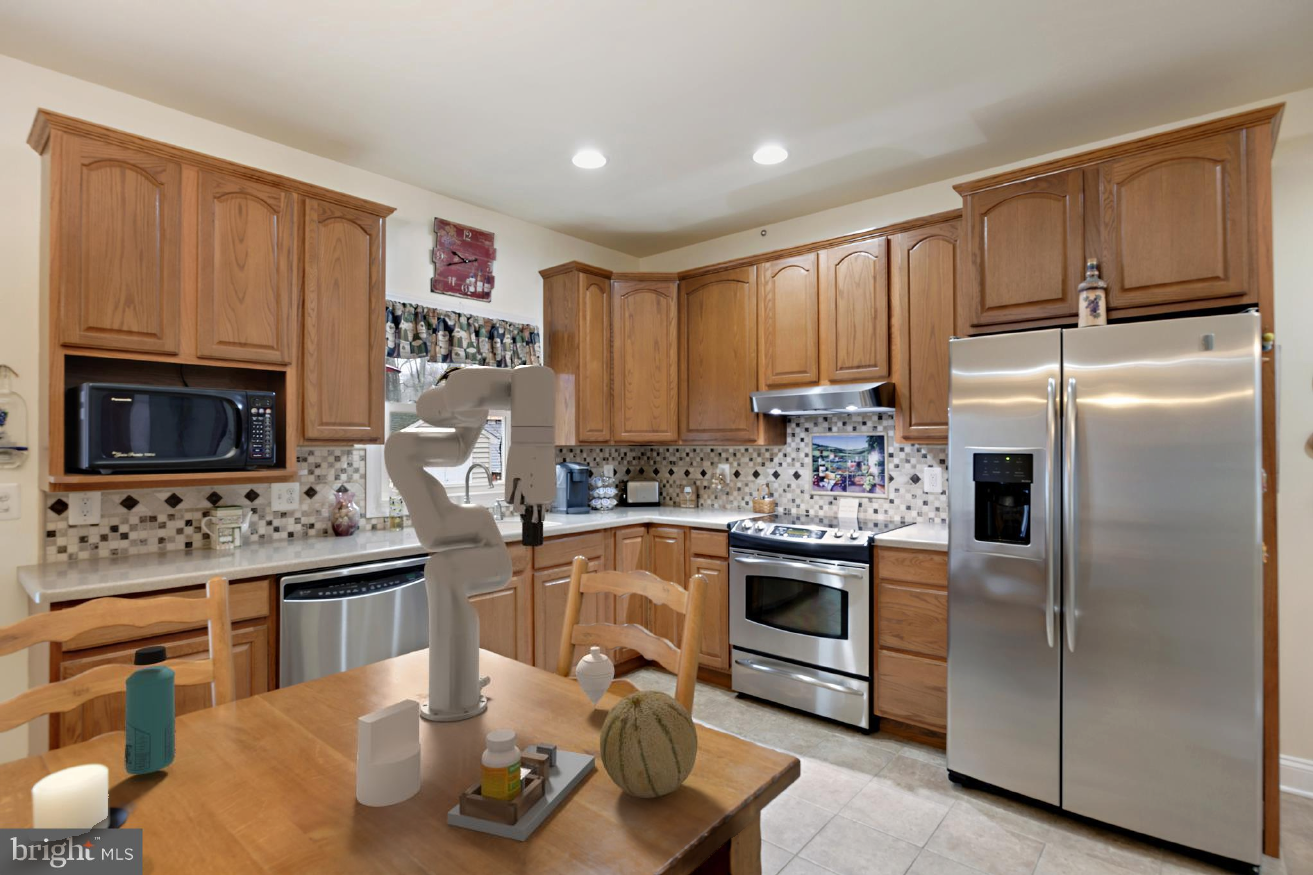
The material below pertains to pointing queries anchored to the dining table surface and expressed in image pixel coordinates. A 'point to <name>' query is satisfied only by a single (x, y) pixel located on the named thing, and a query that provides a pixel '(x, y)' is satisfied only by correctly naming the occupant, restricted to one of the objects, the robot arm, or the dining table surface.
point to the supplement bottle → (501, 766)
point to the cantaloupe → (648, 744)
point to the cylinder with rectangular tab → (389, 755)
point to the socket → (502, 802)
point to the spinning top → (595, 674)
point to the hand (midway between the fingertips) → (532, 545)
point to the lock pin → (533, 768)
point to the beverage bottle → (150, 713)
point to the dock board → (556, 789)
